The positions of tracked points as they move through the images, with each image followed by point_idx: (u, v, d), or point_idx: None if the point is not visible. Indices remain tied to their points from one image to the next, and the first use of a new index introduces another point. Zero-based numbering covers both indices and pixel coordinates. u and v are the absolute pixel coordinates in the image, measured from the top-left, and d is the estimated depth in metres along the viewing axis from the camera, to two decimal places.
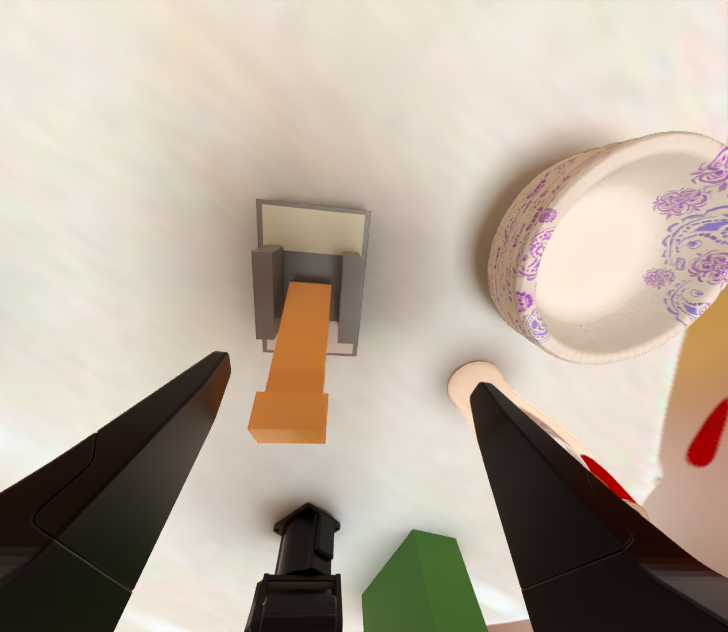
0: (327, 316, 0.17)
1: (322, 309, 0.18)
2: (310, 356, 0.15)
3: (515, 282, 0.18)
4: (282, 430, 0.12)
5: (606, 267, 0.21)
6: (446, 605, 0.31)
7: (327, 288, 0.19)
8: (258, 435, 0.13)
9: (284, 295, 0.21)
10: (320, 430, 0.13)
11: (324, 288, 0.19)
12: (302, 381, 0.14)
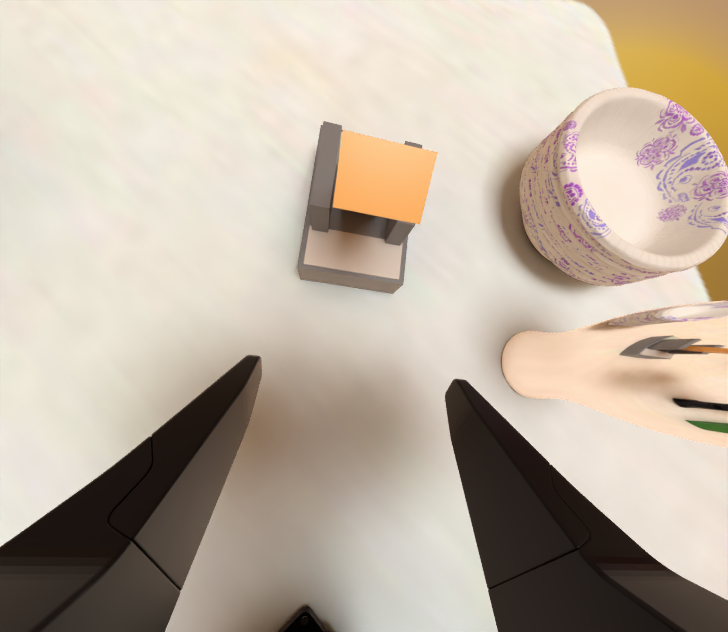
0: None
1: None
2: None
3: (559, 181, 0.19)
4: (384, 145, 0.10)
5: (622, 208, 0.23)
6: None
7: None
8: (346, 166, 0.10)
9: (332, 206, 0.20)
10: (430, 154, 0.10)
11: None
12: None
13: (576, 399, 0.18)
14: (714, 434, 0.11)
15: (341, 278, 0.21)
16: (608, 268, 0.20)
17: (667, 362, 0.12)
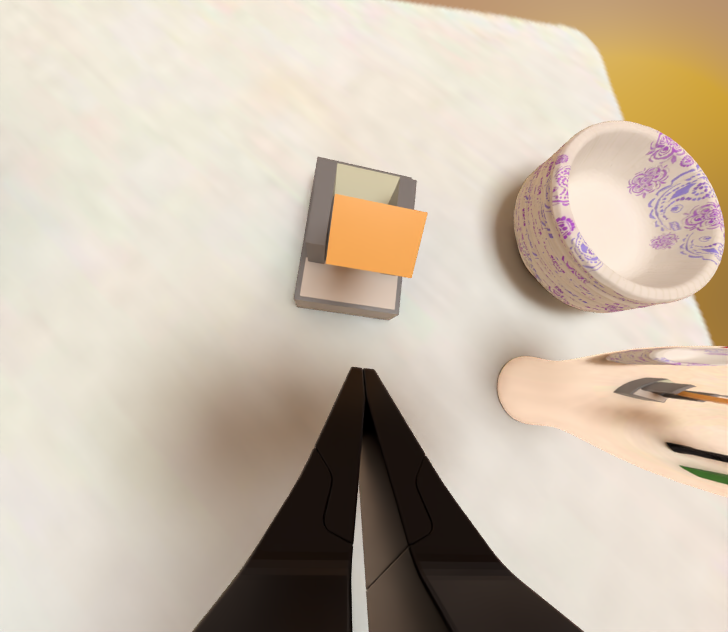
0: None
1: None
2: None
3: (552, 214, 0.20)
4: (375, 206, 0.10)
5: (615, 236, 0.24)
6: None
7: None
8: (338, 226, 0.10)
9: (328, 237, 0.20)
10: (420, 214, 0.10)
11: None
12: None
13: (570, 432, 0.18)
14: (704, 483, 0.12)
15: (337, 308, 0.21)
16: (601, 298, 0.20)
17: (657, 409, 0.12)
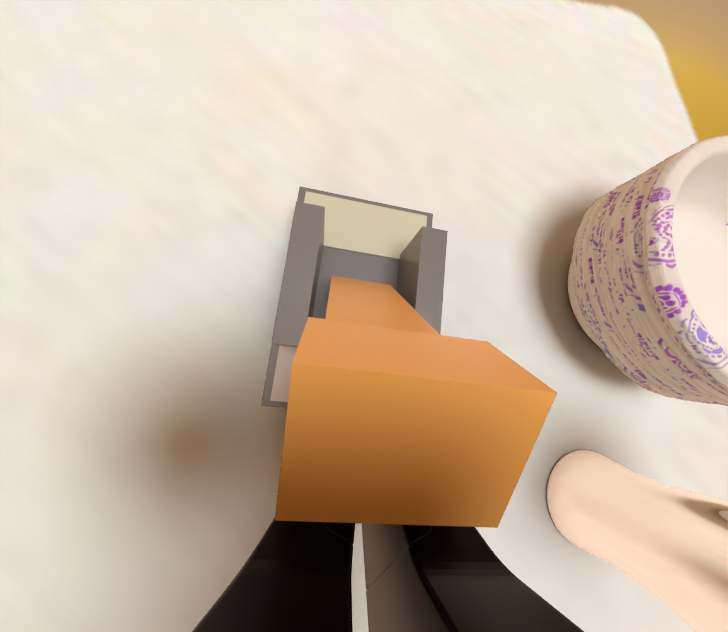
0: (402, 298, 0.11)
1: (390, 293, 0.11)
2: (400, 319, 0.08)
3: (646, 277, 0.13)
4: (414, 388, 0.03)
5: (712, 292, 0.17)
6: None
7: (386, 285, 0.13)
8: (306, 439, 0.04)
9: (314, 307, 0.14)
10: (537, 398, 0.04)
11: (382, 284, 0.13)
12: None
13: (684, 622, 0.12)
14: None
15: None
16: (712, 397, 0.14)
17: None
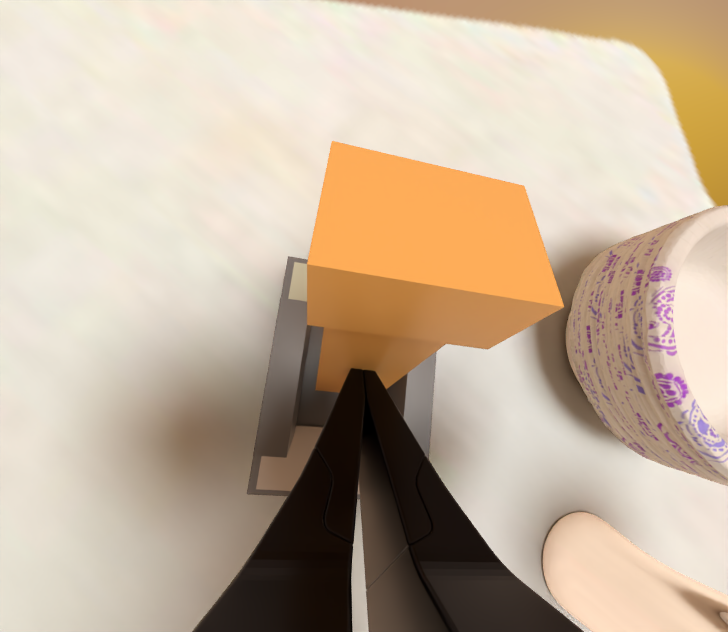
0: None
1: None
2: None
3: (646, 361, 0.13)
4: (420, 167, 0.05)
5: (714, 356, 0.17)
6: None
7: None
8: (343, 188, 0.04)
9: (302, 386, 0.14)
10: (512, 187, 0.05)
11: None
12: None
13: None
14: None
15: None
16: (713, 480, 0.14)
17: None
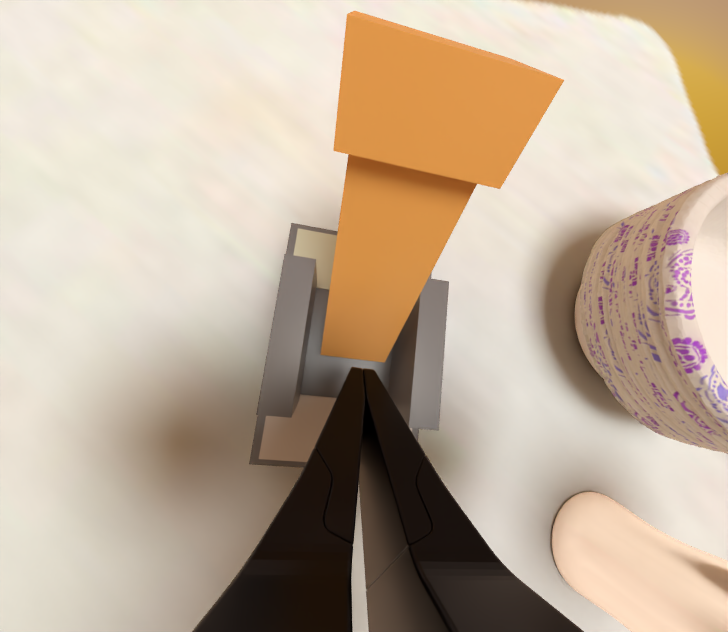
0: None
1: None
2: None
3: (662, 327, 0.12)
4: None
5: None
6: None
7: None
8: (368, 16, 0.05)
9: (307, 355, 0.13)
10: (501, 56, 0.06)
11: None
12: None
13: None
14: None
15: None
16: None
17: None
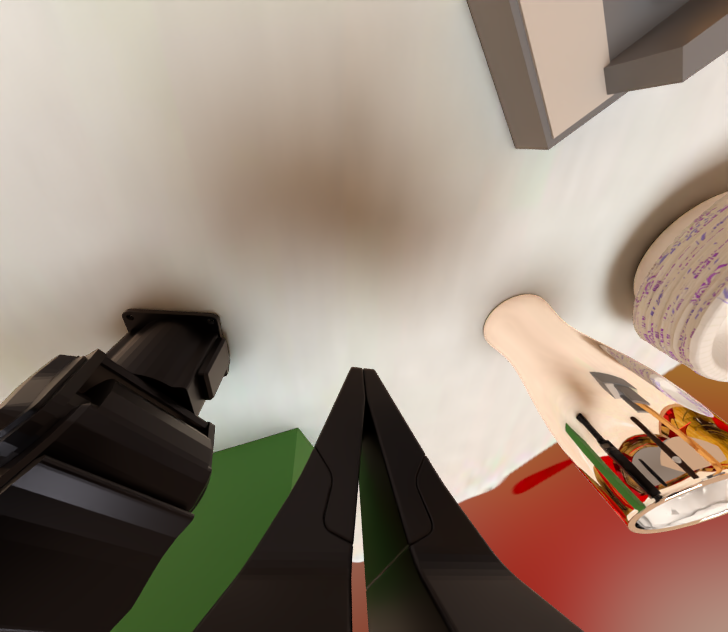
0: None
1: None
2: None
3: None
4: None
5: None
6: None
7: None
8: None
9: None
10: None
11: None
12: None
13: (524, 371, 0.19)
14: (590, 461, 0.14)
15: (509, 56, 0.13)
16: (670, 323, 0.19)
17: (638, 417, 0.13)
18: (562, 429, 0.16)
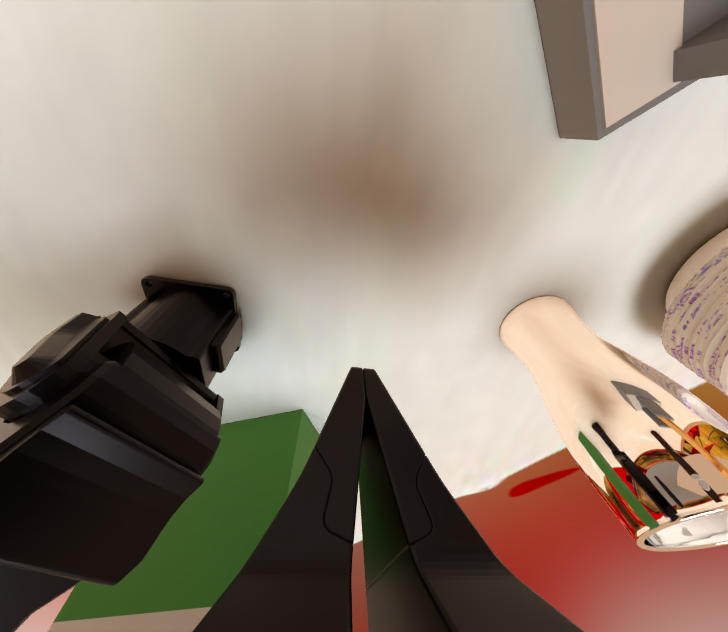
0: None
1: None
2: None
3: None
4: None
5: None
6: None
7: None
8: None
9: None
10: None
11: None
12: None
13: (540, 374, 0.19)
14: (603, 472, 0.14)
15: (569, 32, 0.12)
16: (704, 339, 0.18)
17: (662, 432, 0.12)
18: (576, 437, 0.15)
